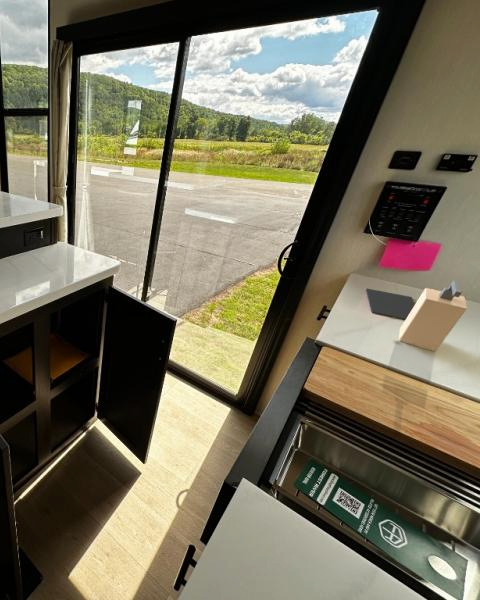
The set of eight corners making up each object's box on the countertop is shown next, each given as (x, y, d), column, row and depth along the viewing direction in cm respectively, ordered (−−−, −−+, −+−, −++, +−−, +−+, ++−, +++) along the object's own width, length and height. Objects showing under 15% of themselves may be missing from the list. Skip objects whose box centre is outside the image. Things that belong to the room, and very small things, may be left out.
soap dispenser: (399, 328, 109) (435, 271, 97) (434, 338, 104) (476, 279, 92) (398, 347, 101) (437, 287, 89) (435, 358, 96) (482, 297, 84)
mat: (411, 298, 124) (411, 296, 124) (423, 324, 110) (423, 322, 110) (366, 289, 131) (366, 288, 131) (371, 312, 117) (372, 311, 116)
